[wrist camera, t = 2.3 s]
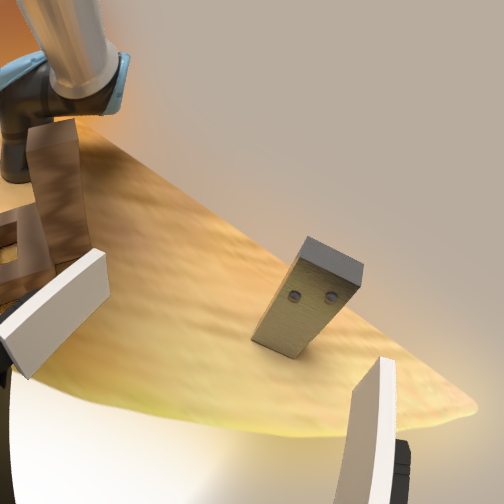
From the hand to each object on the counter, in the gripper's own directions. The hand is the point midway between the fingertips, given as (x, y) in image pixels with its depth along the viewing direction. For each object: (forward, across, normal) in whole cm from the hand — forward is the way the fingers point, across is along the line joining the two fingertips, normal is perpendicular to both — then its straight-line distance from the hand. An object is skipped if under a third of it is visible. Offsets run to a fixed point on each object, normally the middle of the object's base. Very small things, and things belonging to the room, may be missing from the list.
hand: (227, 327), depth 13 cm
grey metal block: (+18, +3, -19) cm, 26 cm away
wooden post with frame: (+11, -33, -16) cm, 38 cm away
